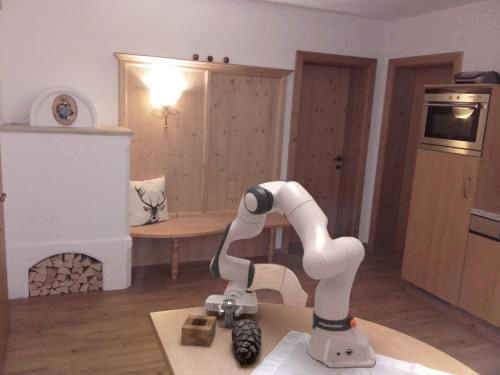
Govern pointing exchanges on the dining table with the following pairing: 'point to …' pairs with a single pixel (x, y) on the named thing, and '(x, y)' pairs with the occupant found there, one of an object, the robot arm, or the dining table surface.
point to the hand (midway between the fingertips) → (228, 313)
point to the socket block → (199, 330)
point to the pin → (229, 312)
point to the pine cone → (246, 341)
